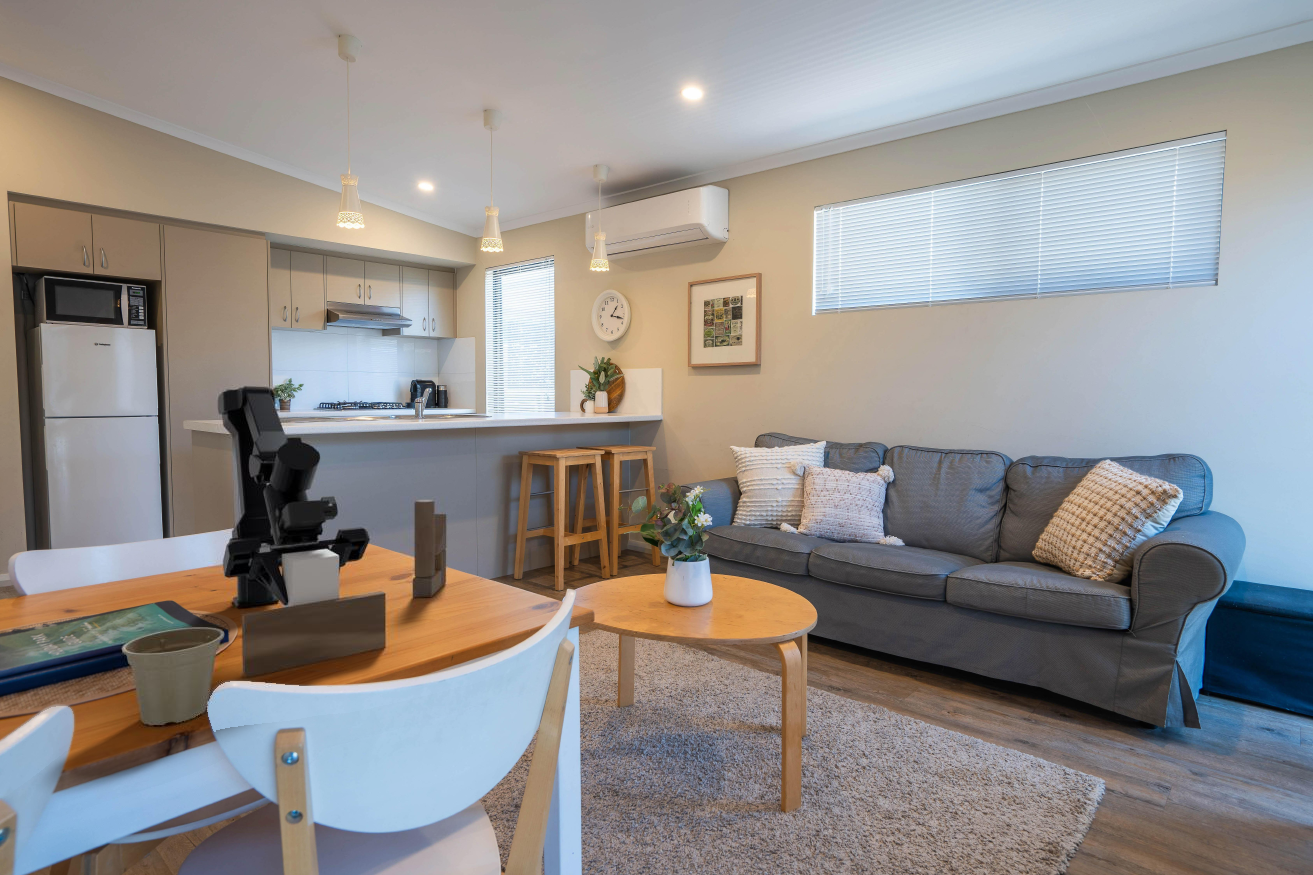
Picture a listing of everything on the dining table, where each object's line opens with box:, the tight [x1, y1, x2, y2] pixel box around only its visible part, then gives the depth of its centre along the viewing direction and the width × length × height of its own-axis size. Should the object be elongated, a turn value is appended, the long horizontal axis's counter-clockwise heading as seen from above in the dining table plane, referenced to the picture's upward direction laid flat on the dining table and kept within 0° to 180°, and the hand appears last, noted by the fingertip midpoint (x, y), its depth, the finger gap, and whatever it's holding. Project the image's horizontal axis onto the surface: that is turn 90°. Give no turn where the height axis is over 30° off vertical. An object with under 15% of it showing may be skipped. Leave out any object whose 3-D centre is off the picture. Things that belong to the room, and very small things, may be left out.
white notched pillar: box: [281, 549, 340, 608], centre depth 97 cm, size 6×6×13 cm
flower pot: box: [121, 626, 225, 726], centre depth 77 cm, size 9×9×9 cm
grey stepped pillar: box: [412, 498, 447, 598], centre depth 131 cm, size 4×11×18 cm, turn 3°
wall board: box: [241, 590, 387, 679], centre depth 94 cm, size 3×18×8 cm, turn 132°
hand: (311, 599), depth 96 cm, fingers closed on white notched pillar, 6 cm apart
